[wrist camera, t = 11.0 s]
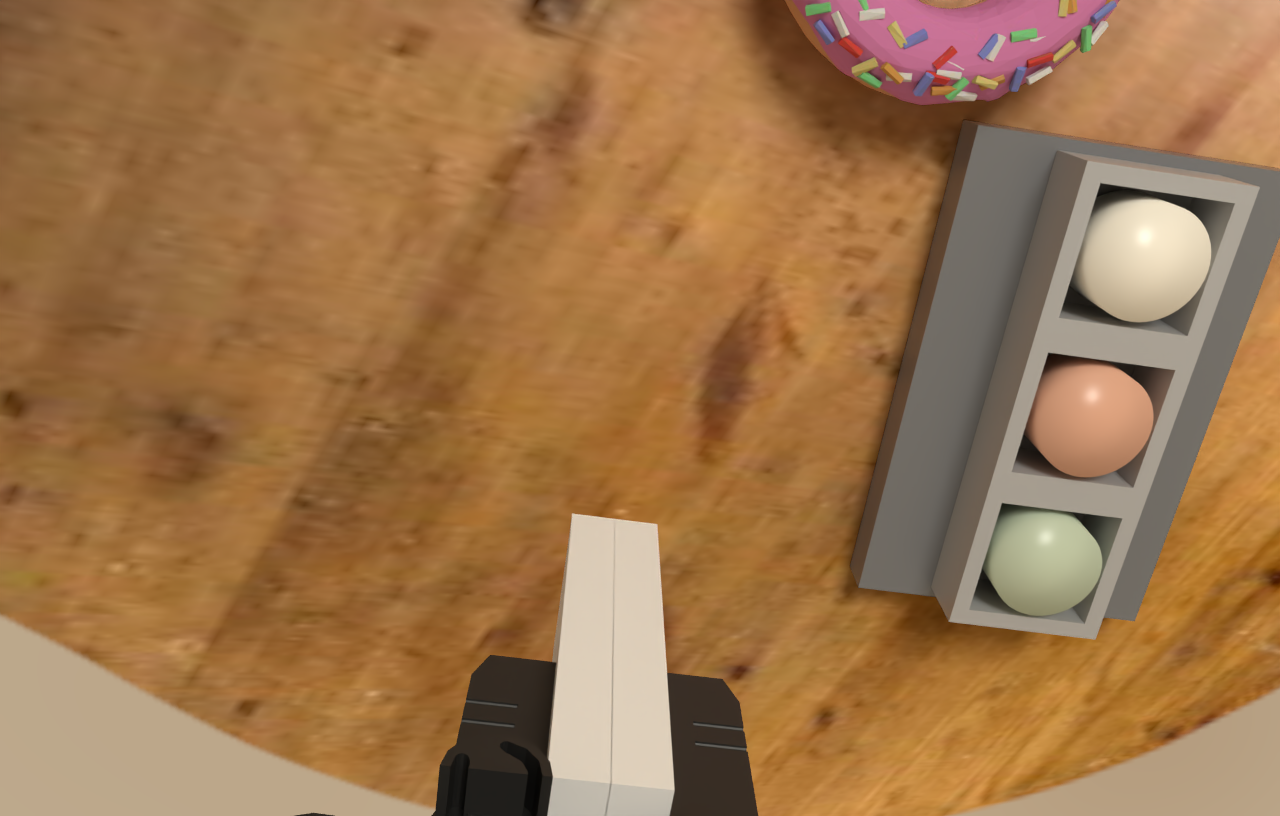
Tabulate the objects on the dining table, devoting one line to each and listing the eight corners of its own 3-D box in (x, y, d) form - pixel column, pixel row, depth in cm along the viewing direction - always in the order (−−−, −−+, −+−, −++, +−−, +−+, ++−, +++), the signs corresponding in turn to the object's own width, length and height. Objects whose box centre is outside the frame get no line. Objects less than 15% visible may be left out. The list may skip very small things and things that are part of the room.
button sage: (988, 485, 48) (1010, 515, 45) (1087, 498, 48) (1116, 528, 45) (961, 574, 50) (981, 609, 47) (1057, 586, 50) (1083, 621, 47)
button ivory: (1078, 182, 43) (1110, 195, 40) (1189, 198, 43) (1228, 213, 40) (1045, 293, 45) (1073, 313, 42) (1152, 309, 45) (1187, 329, 42)
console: (963, 119, 44) (1003, 134, 40) (1275, 167, 45) (1349, 187, 40) (850, 566, 52) (872, 622, 48) (1116, 599, 53) (1163, 656, 48)
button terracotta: (1030, 342, 45) (1057, 364, 43) (1136, 356, 46) (1169, 380, 43) (1001, 441, 47) (1024, 469, 44) (1102, 455, 47) (1132, 483, 45)
